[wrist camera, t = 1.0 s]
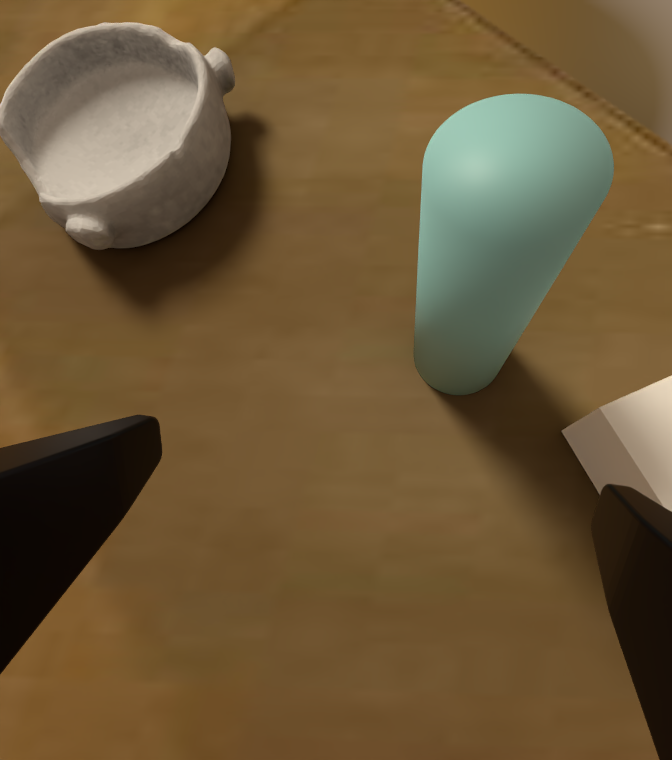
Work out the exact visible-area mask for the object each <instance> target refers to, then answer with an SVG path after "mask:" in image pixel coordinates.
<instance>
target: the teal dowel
mask: <svg viewBox="0 0 672 760" xmlns="http://www.w3.org/2000/svg"><path fill="white" fill-rule="evenodd" d="M613 172H614V162H613V155H612V151H611V148H610V145H609V143H608V141H607V139H606V137H605V135H604V134H603V132H602V131H601V130H600V128H599V127H598V126H597V125H596V124H595V123H594V122H593V121H592V120H591V119H590V118H589V117H588V116H587V115H585V114H584V113H583V112H581V111H580V110H578V109H576V108H575V107H573V106H571V105H569V104H567V103H564V102H562V101H559V100H556V99H553V98H549V97H545V96H540V95H532V94H507V95H500V96H494V97H490V98H487V99H483V100H480V101H478V102H475V103H472V104H470V105H468V106H466V107H464V108H463V109H461V110H459V111H458V112H456V113H455V114H453V115H452V116H451V117H450V118H448V119H447V120H446V121H445V122H444V123H443V124H442V125H441V126H440V127H439V128H438V129H437V131H436V132H435V134H434V135H433V137H432V138H431V140H430V142H429V144H428V146H427V149H426V152H425V155H424V161H423V171H422V192H421V212H420V233H419V253H418V274H417V294H416V314H415V335H414V362H415V365H416V368H417V370H418V372H419V374H420V376H421V377H422V378H423V379H424V381H425V382H426V383H428V384H429V385H430V386H431V387H433V388H434V389H436V390H438V391H440V392H443V393H446V394H451V395H467V394H472V393H475V392H478V391H480V390H482V389H483V388H485V387H486V386H488V385H489V384H490V383H491V382H492V381H493V380H494V378H495V377H496V376H497V374H498V372H499V371H500V369H501V368H502V366H503V364H504V363H505V361H506V359H507V358H508V356H509V354H510V353H511V351H512V350H513V348H514V346H515V345H516V343H517V341H518V340H519V338H520V336H521V335H522V333H523V332H524V330H525V328H526V327H527V325H528V323H529V322H530V320H531V318H532V317H533V315H534V314H535V312H536V310H537V309H538V307H539V305H540V304H541V302H542V300H543V299H544V297H545V296H546V294H547V292H548V291H549V289H550V287H551V286H552V284H553V282H554V281H555V279H556V278H557V276H558V274H559V273H560V271H561V269H562V268H563V266H564V264H565V263H566V261H567V260H568V258H569V256H570V255H571V253H572V251H573V250H574V248H575V246H576V245H577V243H578V242H579V240H580V238H581V237H582V235H583V233H584V232H585V230H586V229H587V227H588V225H589V224H590V222H591V220H592V219H593V217H594V215H595V214H596V212H597V211H598V209H599V207H600V206H601V204H602V202H603V201H604V199H605V197H606V196H607V194H608V191H609V189H610V186H611V183H612V178H613Z"/></svg>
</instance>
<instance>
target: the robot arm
mask: <svg viewBox="0 0 672 760" xmlns="http://www.w3.org/2000/svg"><path fill="white" fill-rule="evenodd" d="M161 456H162V443H161V435H160V426H159V422H158V420H157V419H156V418H155V417H152V416H145V415H134V416H130V417H126V418H122V419H118V420H114V421H110V422H106V423H102V424H97V425H93V426H89V427H85V428H81V429H77V430H73V431H69V432H65V433H60V434H56V435H52V436H48V437H44V438H40V439H36V440H32V441H28V442H23V443H19V444H15V445H11V446H7V447H3V448H0V674H1V673H2V671H3V670H4V669H5V668H6V666H7V665H8V664H9V663H10V661H11V660H12V659H13V658H14V656H15V655H16V654H17V652H18V651H19V650H20V649H21V647H22V646H23V645H24V644H25V642H26V641H27V640H28V639H29V637H30V636H31V635H32V633H33V632H34V631H35V630H36V628H37V627H38V626H39V625H40V623H41V622H42V621H43V620H44V618H45V617H46V616H47V614H48V613H49V612H50V611H51V609H52V608H53V607H54V606H55V604H56V603H57V602H58V601H59V599H60V598H61V597H62V595H63V594H64V593H65V592H66V590H67V589H68V588H69V587H70V585H71V584H72V583H73V581H74V580H75V579H76V578H77V576H78V575H79V574H80V573H81V571H82V570H83V569H84V568H85V566H86V565H87V564H88V562H89V561H90V560H91V559H92V557H93V556H94V555H95V554H96V552H97V551H98V550H99V549H100V547H101V546H102V545H103V543H104V542H105V541H106V540H107V538H108V537H109V536H110V535H111V533H112V532H113V531H114V530H115V528H116V527H117V526H118V524H119V523H120V522H121V520H122V519H123V518H124V516H125V515H126V513H127V512H128V510H129V509H130V507H131V506H132V504H133V503H134V501H135V500H136V498H137V497H138V495H139V493H140V492H141V490H142V489H143V487H144V486H145V484H146V482H147V481H148V479H149V478H150V476H151V475H152V473H153V471H154V470H155V468H156V467H157V465H158V464H159V462H160V459H161ZM591 530H592V537H593V541H594V546H595V551H596V555H597V560H598V565H599V569H600V574H601V579H602V583H603V588H604V593H605V597H606V601H607V605H608V609H609V613H610V616H611V619H612V622H613V625H614V628H615V631H616V634H617V637H618V640H619V643H620V646H621V649H622V651H623V654H624V657H625V660H626V663H627V666H628V669H629V672H630V675H631V678H632V681H633V684H634V686H635V689H636V692H637V695H638V698H639V701H640V704H641V707H642V710H643V713H644V716H645V719H646V721H647V724H648V727H649V730H650V733H651V736H652V739H653V742H654V745H655V748H656V751H657V754H658V756H659V759H660V760H672V512H671V511H670V510H668V509H666V508H665V507H663V506H661V505H660V504H658V503H657V502H655V501H653V500H652V499H650V498H648V497H647V496H645V495H644V494H642V493H640V492H639V491H637V490H635V489H634V488H632V487H629V486H623V485H616V484H606V485H605V486H604V487H603V488H602V490H601V493H600V496H599V500H598V503H597V506H596V509H595V513H594V516H593V519H592V525H591Z"/></svg>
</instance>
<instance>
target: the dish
mask: <svg viewBox="0 0 672 760" xmlns="http://www.w3.org/2000/svg"><path fill="white" fill-rule="evenodd" d="M234 86H235V76H234V72H233V68H232V64H231V60H230V59H229V57H228V56H227V55H226V54H225V53H224V52H223V51H221V50H220V49H218V48H212V49H211V50H210V51H209V53H208V54H206V55H205V56H203V55H202V54H201V53H200V51H199V50H197V49H196V48H195V47H194V46H193V45H192V44H191V43H184V42H181V41H179V40H177V39H175V38H174V37H172V36H170V35H169V34H167V33H166V32H164V31H163V30H161V29H160V28H158V27H155V26H152V25H144V24H141V23H129V22H126V23H101V24H99V25H97V26H90V27H85V28H81V29H77V30H74V31H72V32H69V33H67V34H65V35H63V36H61V37H60V38H58V39H56V40H54V41H53V42H51V43H50V44H48V45H47V46H46V47H44V48H43V49H42V50H41V51H39V52H38V53H37V54H36V55H35V56H34V57H33V58H32V60H31V61H30V62H28V63H27V64H26V65H25V66H24V67H23V69H22V70H21V71H20V72H19V73H18V74H17V76H16V77H15V78H14V80H13V81H12V82H11V84H10V85H9V87H8V88H7V89H6V92H5V94H4V97H3V100H2V102H1V104H0V135H1V138H2V139H3V141H4V142H5V144H6V145H7V146H8V148H9V149H10V150H11V151H12V152H13V154H14V155H15V157H16V158H17V160H18V161H19V163H20V165H21V167H22V169H23V170H24V172H25V173H26V174H27V176H28V177H29V179H30V181H31V182H32V184H33V186H34V187H35V189H36V191H37V193H38V195H39V199H40V202H41V205H42V207H43V209H44V210H45V212H46V213H47V214H48V215H49V217H50V218H51V219H52V220H53V221H55V222H56V223H58V224H59V225H61V226H62V227H63V228H65V229H66V232H67V233H68V234H69V235H70V236H71V237H72V238H73V239H74V240H76V241H77V242H79V243H81V244H83V245H85V246H87V247H90V248H92V249H96V250H103V249H107V248H133V247H138V246H142V245H146V244H149V243H152V242H154V241H157V240H159V239H161V238H163V237H166V236H167V235H169V234H171V233H173V232H174V231H176V230H178V229H179V228H181V227H182V226H183V225H185V224H186V223H188V222H189V221H190V220H191V219H192V218H194V217H195V216H196V215H197V214H198V213H199V212H200V210H201V209H202V208H203V207H204V206H205V205H206V204H207V203H208V201H209V200H210V199H211V197H212V196H213V194H214V193H215V191H216V190H217V188H218V186H219V184H220V182H221V180H222V178H223V176H224V174H225V171H226V168H227V165H228V160H229V156H230V145H231V130H230V124H229V120H228V116H227V113H226V109H225V106H224V103H223V96H224V95H225V94H226V93H228V92H230V91H231V90H232V89H233V88H234Z"/></svg>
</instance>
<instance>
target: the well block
mask: <svg viewBox="0 0 672 760" xmlns="http://www.w3.org/2000/svg"><path fill="white" fill-rule="evenodd" d="M562 433H563V435H564V436H565V438H566V440H567V441H568V443H569V445H570V446H571V448H572V450H573V451H574V453H575V455H576V456H577V458H578V460H579V461H580V463H581V465H582V466H583V468H584V470H585V471H586V473H587V474H588V476H589V478H590V479H591V481H592V483H593V484H594V486H595V488H596V489H597V491H598V493H599V494H600V493H601V490H602V488H603V487H604V486H605V485H606V484H616V485H623V486H629V487H632V488H634V489H635V490H637V491H639V492H640V493H642V494H644V495H645V496H647V497H648V498H650V499H652V500H653V501H655V502H657V503H658V504H660V505H661V506H663V507H665V508H666V509H668V510H670V511H671V512H672V376H670V377H667V378H665V379H663V380H661V381H658V382H656V383H654V384H651V385H649V386H647V387H645V388H642V389H640V390H638V391H636V392H633V393H631V394H629V395H627V396H624V397H622V398H620V399H618V400H615V401H613V402H611V403H608V404H606V405H604V406H602V407H599V408H598V409H596V410H594V411H593V412H591V413H590V414H588V415H586V416H585V417H583V418H581V419H580V420H578V421H576V422H575V423H573V424H571V425H570V426H568V427H566V428H565V429H563V430H562Z"/></svg>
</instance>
